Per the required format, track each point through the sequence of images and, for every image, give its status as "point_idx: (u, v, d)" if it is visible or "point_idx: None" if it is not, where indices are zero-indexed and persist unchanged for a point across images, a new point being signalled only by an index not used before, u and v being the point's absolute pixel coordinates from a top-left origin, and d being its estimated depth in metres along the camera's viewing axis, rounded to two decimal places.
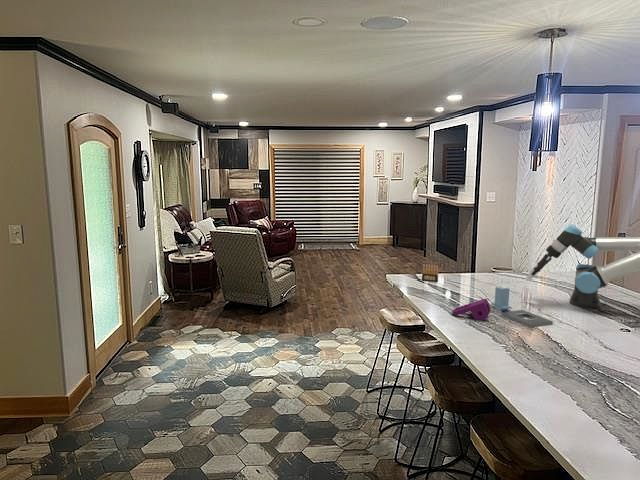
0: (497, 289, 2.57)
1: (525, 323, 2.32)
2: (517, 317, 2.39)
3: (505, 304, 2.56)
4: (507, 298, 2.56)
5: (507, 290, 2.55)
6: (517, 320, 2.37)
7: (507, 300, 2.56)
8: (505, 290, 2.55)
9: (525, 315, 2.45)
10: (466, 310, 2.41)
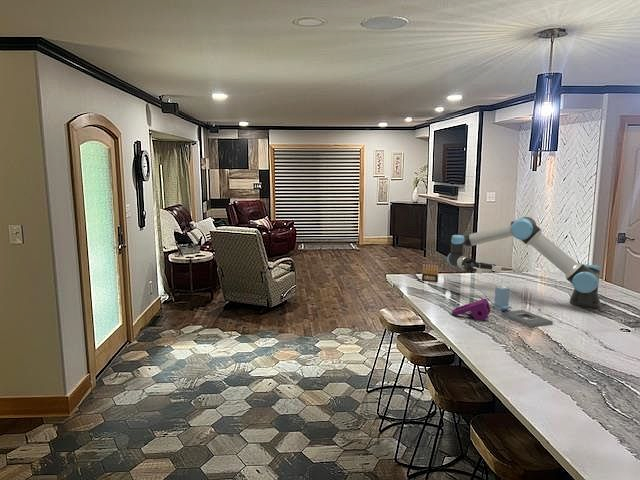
0: (497, 289, 2.57)
1: (525, 323, 2.32)
2: (517, 317, 2.39)
3: (505, 304, 2.56)
4: (507, 298, 2.56)
5: (507, 290, 2.55)
6: (517, 320, 2.37)
7: (507, 300, 2.56)
8: (505, 290, 2.55)
9: (525, 315, 2.45)
10: (466, 310, 2.41)
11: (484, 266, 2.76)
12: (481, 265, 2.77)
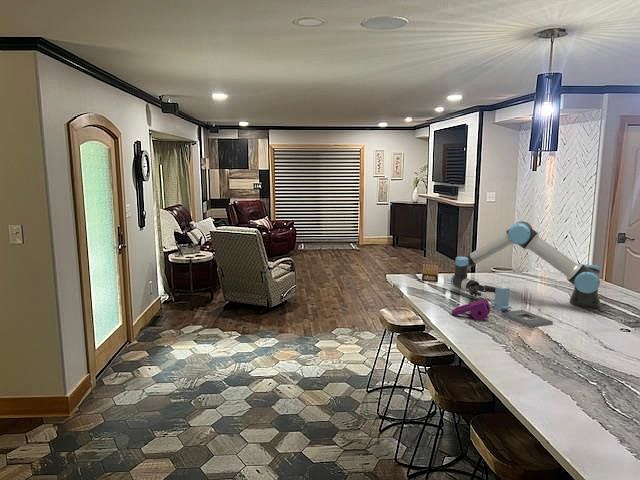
0: (497, 289, 2.57)
1: (525, 323, 2.32)
2: (517, 317, 2.39)
3: (505, 304, 2.56)
4: (507, 298, 2.56)
5: (507, 290, 2.55)
6: (517, 320, 2.37)
7: (507, 300, 2.56)
8: (505, 290, 2.55)
9: (525, 315, 2.45)
10: (465, 310, 2.42)
11: (489, 289, 2.73)
12: (485, 288, 2.74)
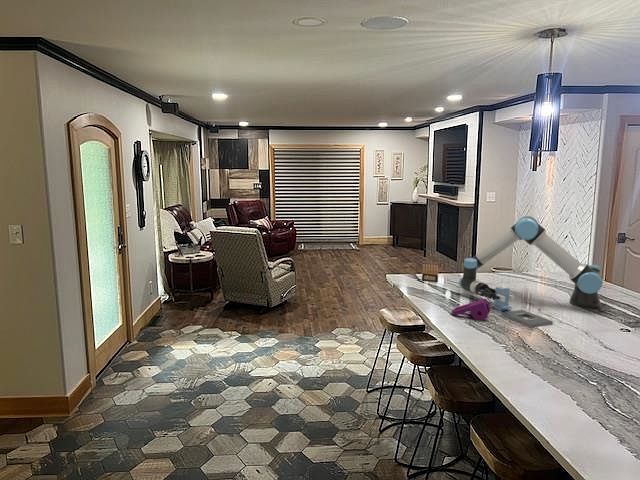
0: (497, 289, 2.57)
1: (525, 323, 2.32)
2: (517, 317, 2.39)
3: (505, 304, 2.56)
4: (507, 298, 2.56)
5: (507, 290, 2.55)
6: (517, 320, 2.37)
7: (507, 300, 2.56)
8: (505, 290, 2.55)
9: (525, 315, 2.45)
10: (465, 310, 2.42)
11: None
12: (494, 291, 2.66)
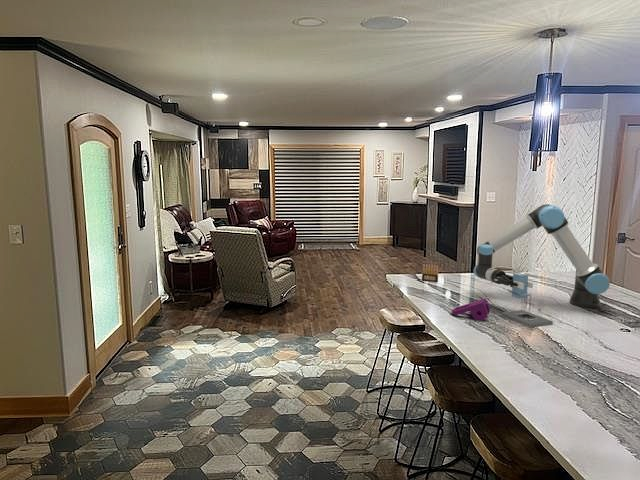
0: (515, 276, 2.42)
1: (525, 323, 2.32)
2: (517, 317, 2.39)
3: (523, 291, 2.41)
4: (526, 285, 2.41)
5: (526, 276, 2.40)
6: (517, 320, 2.37)
7: (526, 287, 2.41)
8: (523, 276, 2.40)
9: (525, 315, 2.45)
10: (465, 310, 2.42)
11: None
12: (511, 279, 2.51)
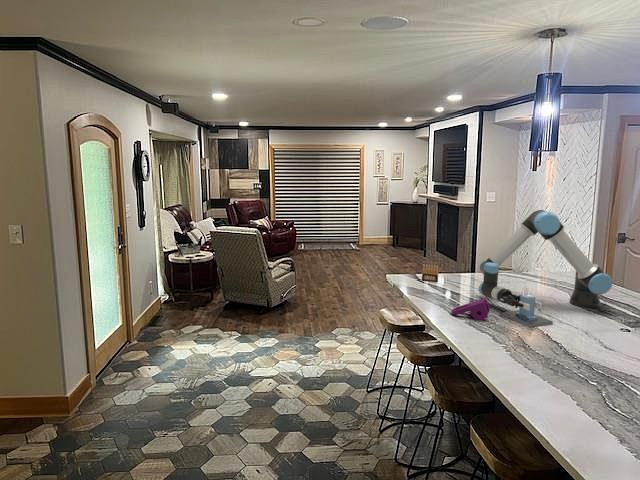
0: (522, 298, 2.39)
1: (525, 323, 2.32)
2: (517, 317, 2.39)
3: (531, 314, 2.38)
4: (533, 308, 2.38)
5: (533, 299, 2.37)
6: (517, 320, 2.37)
7: (533, 310, 2.38)
8: (531, 299, 2.37)
9: None
10: (465, 310, 2.42)
11: None
12: (518, 298, 2.48)
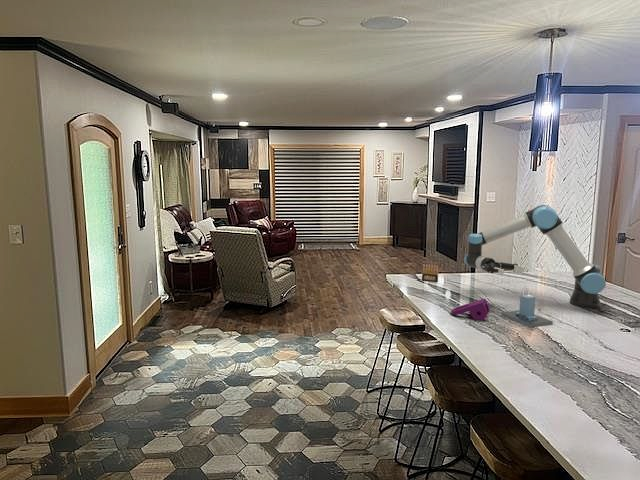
0: (522, 298, 2.39)
1: (525, 323, 2.32)
2: (517, 317, 2.39)
3: (531, 314, 2.38)
4: (533, 308, 2.38)
5: (533, 299, 2.37)
6: (517, 320, 2.37)
7: (533, 310, 2.38)
8: (531, 299, 2.37)
9: None
10: (465, 310, 2.42)
11: (506, 266, 2.58)
12: (502, 265, 2.59)
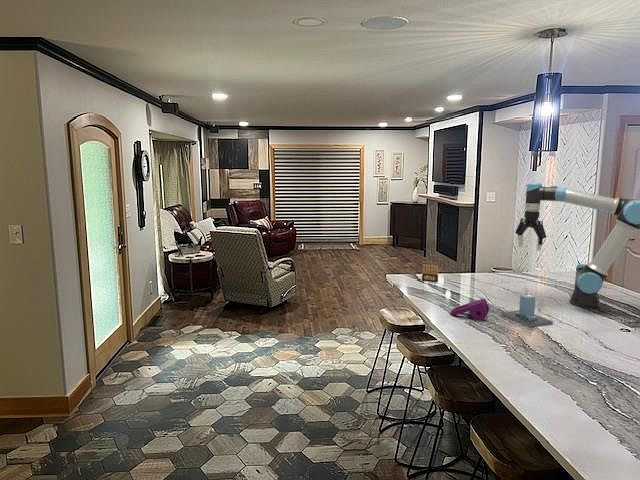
0: (522, 298, 2.39)
1: (525, 323, 2.32)
2: (517, 317, 2.39)
3: (531, 314, 2.38)
4: (533, 308, 2.38)
5: (533, 299, 2.37)
6: (517, 320, 2.37)
7: (533, 310, 2.38)
8: (531, 299, 2.37)
9: None
10: (465, 310, 2.42)
11: (525, 229, 2.69)
12: (527, 227, 2.68)
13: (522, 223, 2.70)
